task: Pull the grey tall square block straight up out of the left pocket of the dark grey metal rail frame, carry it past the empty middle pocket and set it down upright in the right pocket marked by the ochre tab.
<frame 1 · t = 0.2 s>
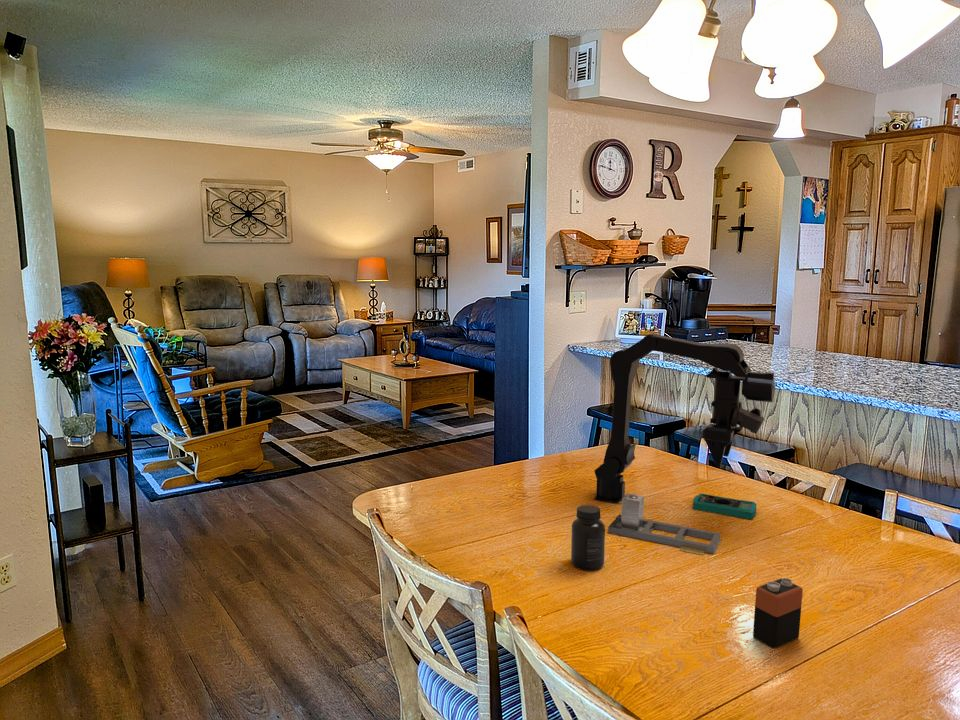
hand: (722, 461, 164), 14 cm above the table, tool pointing down, fingers open, 9 cm apart
supplement bottle: (587, 565, 141), on the table
digital multimeter: (724, 512, 172), on the table
grey tall square block: (631, 530, 159), resting in rail frame
battery: (775, 639, 114), on the table
rail frame: (663, 536, 156), on the table
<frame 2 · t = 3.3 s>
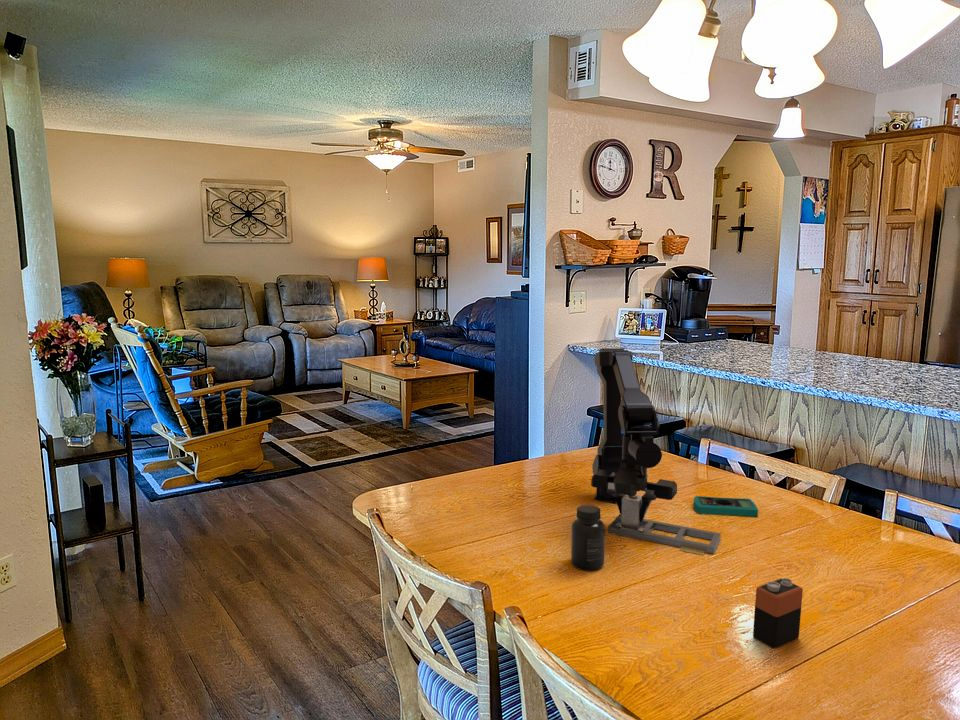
hand: (632, 519, 159), 3 cm above the table, tool pointing down, fingers closed on grey tall square block, 4 cm apart
grey tall square block: (631, 530, 159), resting in rail frame, touching gripper
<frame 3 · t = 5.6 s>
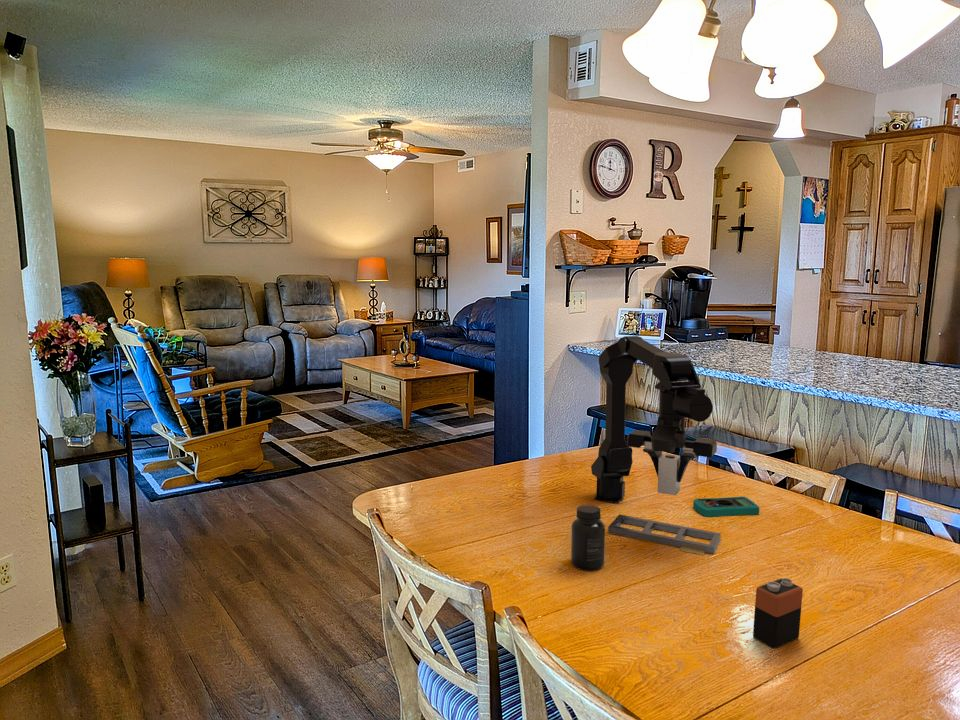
hand: (669, 480, 153), 13 cm above the table, tool pointing down, fingers closed on grey tall square block, 4 cm apart
grey tall square block: (668, 491, 153), point 11 cm above the table, touching gripper
when the fingers open (3 cm above the table, at t = 8.1 s): grey tall square block stays where it is, resting in rail frame.
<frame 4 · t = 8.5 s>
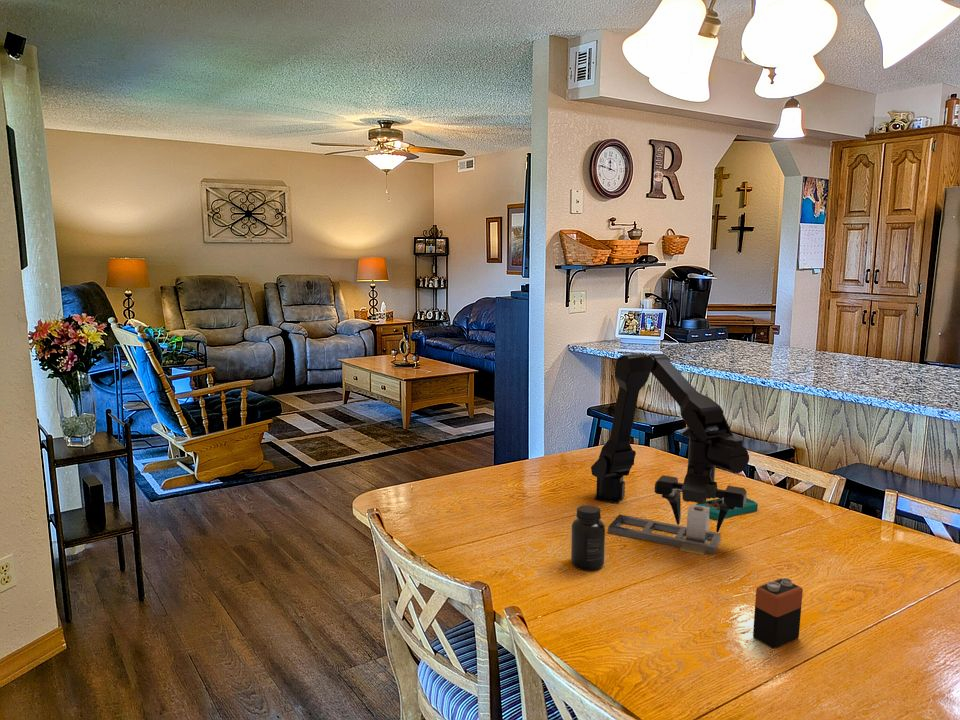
hand: (697, 527, 152), 3 cm above the table, tool pointing down, fingers open, 8 cm apart
grey tall square block: (696, 543, 152), resting in rail frame
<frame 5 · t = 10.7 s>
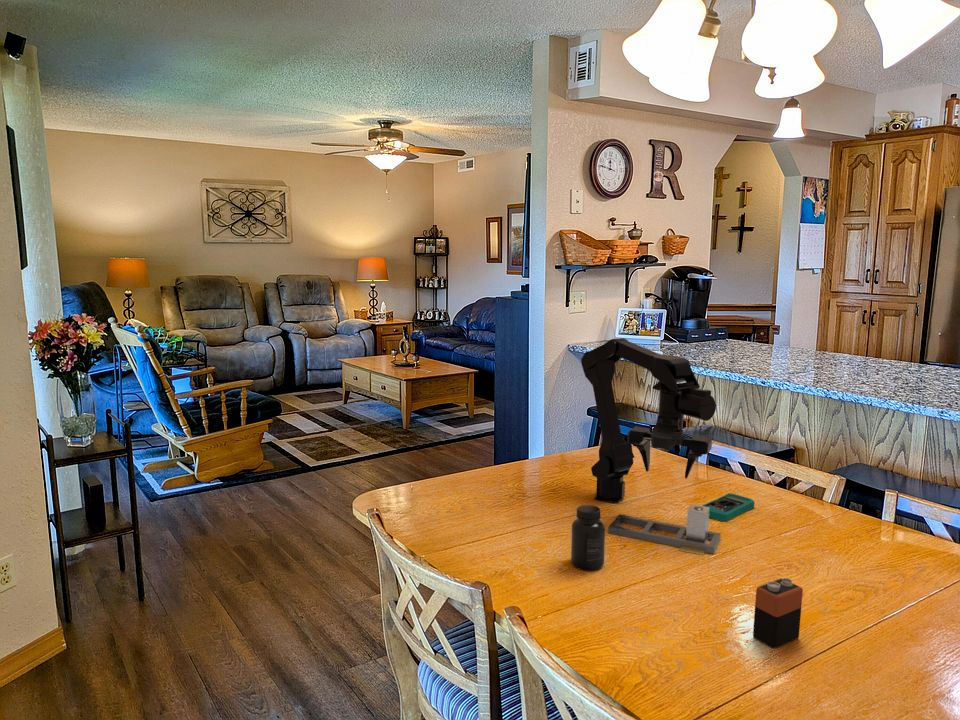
hand: (666, 474, 163), 12 cm above the table, tool pointing down, fingers open, 9 cm apart
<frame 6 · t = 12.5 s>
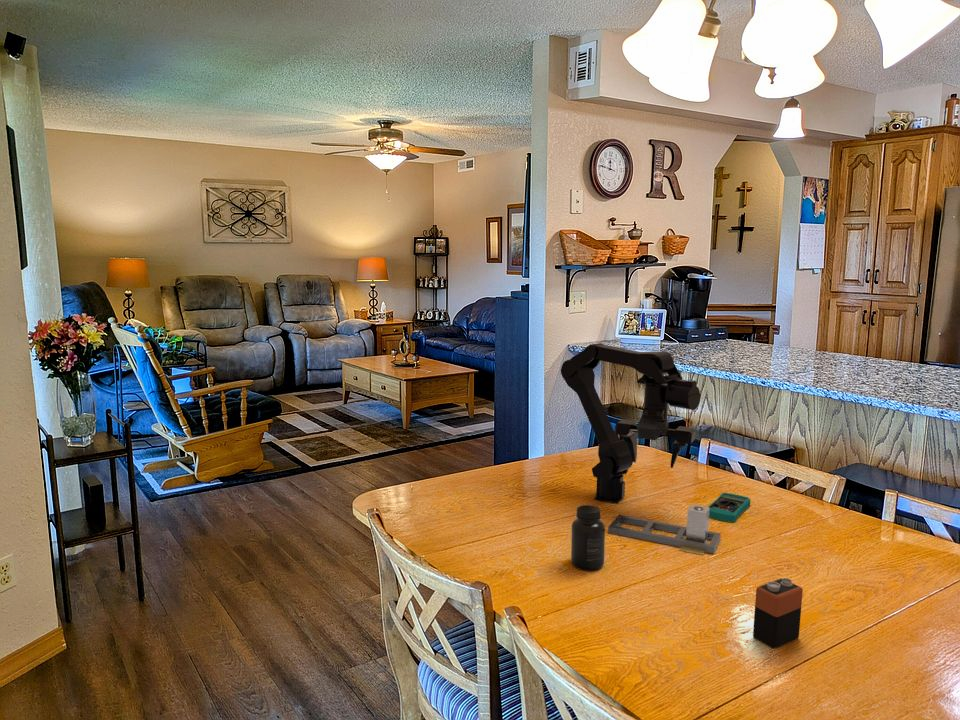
hand: (653, 464, 169), 12 cm above the table, tool pointing down, fingers open, 9 cm apart
at the end: grey tall square block 0.1 cm from the target spot on the rail frame, point 0.0 cm above the rail frame's base; grey tall square block tilted 0°; the gripper is holding nothing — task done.
